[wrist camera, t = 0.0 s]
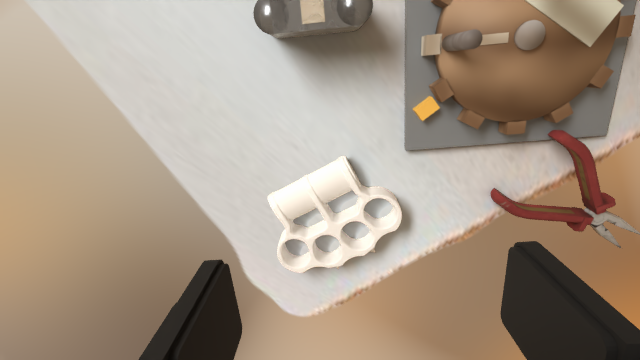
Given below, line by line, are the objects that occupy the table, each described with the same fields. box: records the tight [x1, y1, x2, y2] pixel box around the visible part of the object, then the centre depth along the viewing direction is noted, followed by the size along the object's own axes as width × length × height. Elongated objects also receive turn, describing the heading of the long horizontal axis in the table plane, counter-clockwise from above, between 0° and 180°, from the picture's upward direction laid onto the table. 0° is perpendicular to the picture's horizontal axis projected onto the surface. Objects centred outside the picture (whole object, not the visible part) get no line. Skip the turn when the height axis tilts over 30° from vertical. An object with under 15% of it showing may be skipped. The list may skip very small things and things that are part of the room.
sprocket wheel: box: [421, 0, 635, 135], centre depth 31 cm, size 21×21×8 cm
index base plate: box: [405, 0, 636, 151], centre depth 35 cm, size 24×24×2 cm
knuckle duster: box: [268, 156, 402, 273], centre depth 43 cm, size 3×18×15 cm
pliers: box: [491, 130, 640, 248], centre depth 41 cm, size 12×20×3 cm, turn 57°
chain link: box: [254, 0, 373, 38], centre depth 33 cm, size 3×11×6 cm, turn 95°
